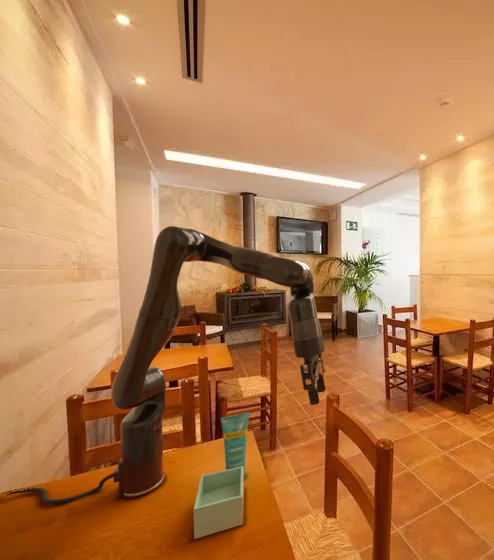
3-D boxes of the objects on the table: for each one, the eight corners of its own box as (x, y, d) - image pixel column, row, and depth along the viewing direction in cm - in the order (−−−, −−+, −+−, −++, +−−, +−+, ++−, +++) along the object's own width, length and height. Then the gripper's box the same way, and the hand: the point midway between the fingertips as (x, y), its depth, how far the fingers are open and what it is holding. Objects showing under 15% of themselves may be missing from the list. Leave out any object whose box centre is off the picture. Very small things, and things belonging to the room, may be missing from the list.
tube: (222, 488, 85) (221, 421, 84) (220, 478, 89) (219, 414, 88) (251, 478, 89) (250, 414, 88) (247, 469, 93) (247, 407, 92)
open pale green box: (194, 539, 69) (193, 509, 68) (201, 501, 80) (201, 475, 80) (243, 524, 73) (242, 496, 73) (243, 490, 84) (243, 465, 84)
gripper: (300, 334, 86) (310, 390, 85) (284, 344, 71) (297, 411, 71) (326, 329, 86) (336, 385, 85) (315, 338, 71) (328, 405, 71)
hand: (318, 397), depth 78 cm, fingers open, 8 cm apart
